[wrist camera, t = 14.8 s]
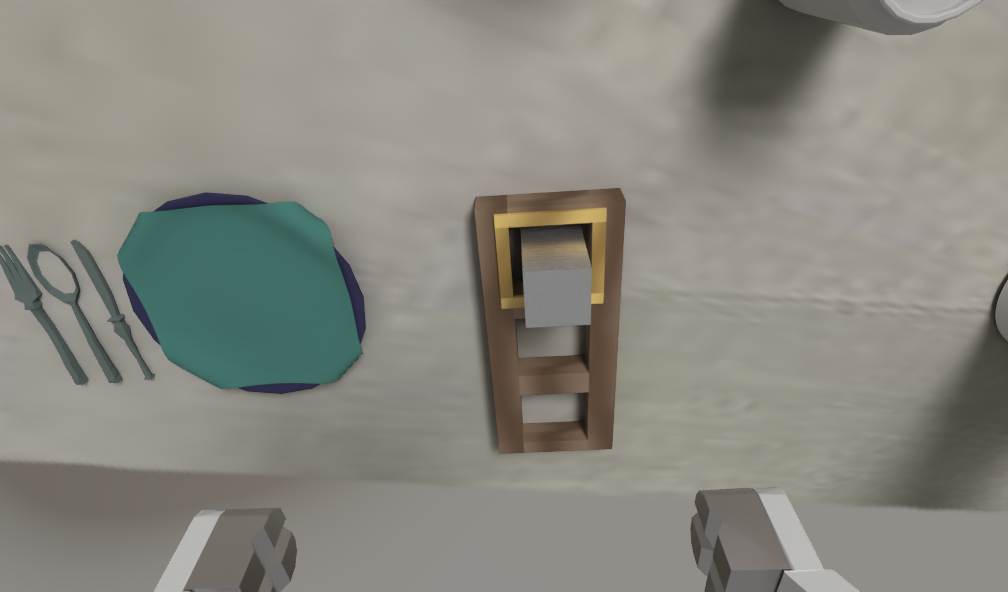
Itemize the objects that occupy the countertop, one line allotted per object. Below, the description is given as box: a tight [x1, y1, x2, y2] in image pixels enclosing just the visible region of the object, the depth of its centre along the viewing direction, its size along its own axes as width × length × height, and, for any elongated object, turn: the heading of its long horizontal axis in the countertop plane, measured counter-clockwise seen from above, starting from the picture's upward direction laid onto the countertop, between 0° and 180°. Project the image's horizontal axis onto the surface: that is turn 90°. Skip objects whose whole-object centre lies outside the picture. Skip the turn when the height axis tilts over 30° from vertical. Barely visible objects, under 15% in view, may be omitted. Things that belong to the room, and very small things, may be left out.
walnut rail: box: [474, 188, 626, 454], centre depth 48 cm, size 11×26×3 cm, turn 4°
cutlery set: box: [0, 193, 365, 394], centre depth 47 cm, size 20×30×2 cm, turn 95°
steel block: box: [521, 223, 592, 328], centre depth 42 cm, size 5×5×8 cm
